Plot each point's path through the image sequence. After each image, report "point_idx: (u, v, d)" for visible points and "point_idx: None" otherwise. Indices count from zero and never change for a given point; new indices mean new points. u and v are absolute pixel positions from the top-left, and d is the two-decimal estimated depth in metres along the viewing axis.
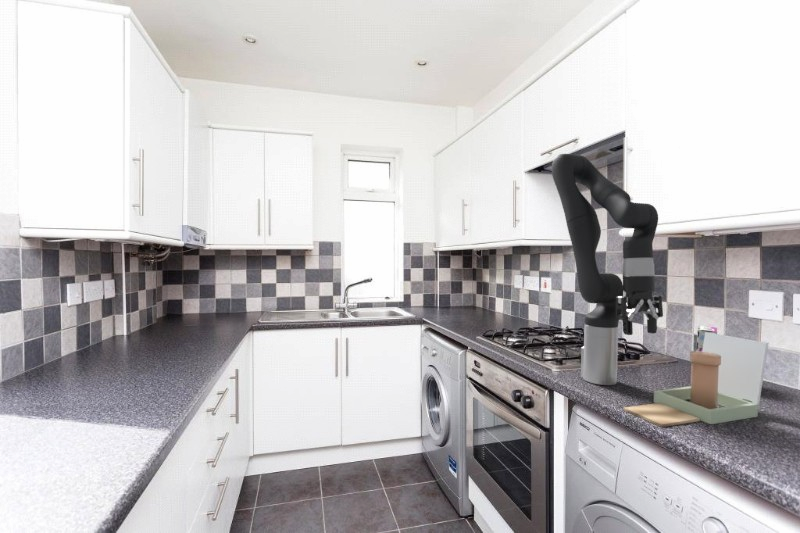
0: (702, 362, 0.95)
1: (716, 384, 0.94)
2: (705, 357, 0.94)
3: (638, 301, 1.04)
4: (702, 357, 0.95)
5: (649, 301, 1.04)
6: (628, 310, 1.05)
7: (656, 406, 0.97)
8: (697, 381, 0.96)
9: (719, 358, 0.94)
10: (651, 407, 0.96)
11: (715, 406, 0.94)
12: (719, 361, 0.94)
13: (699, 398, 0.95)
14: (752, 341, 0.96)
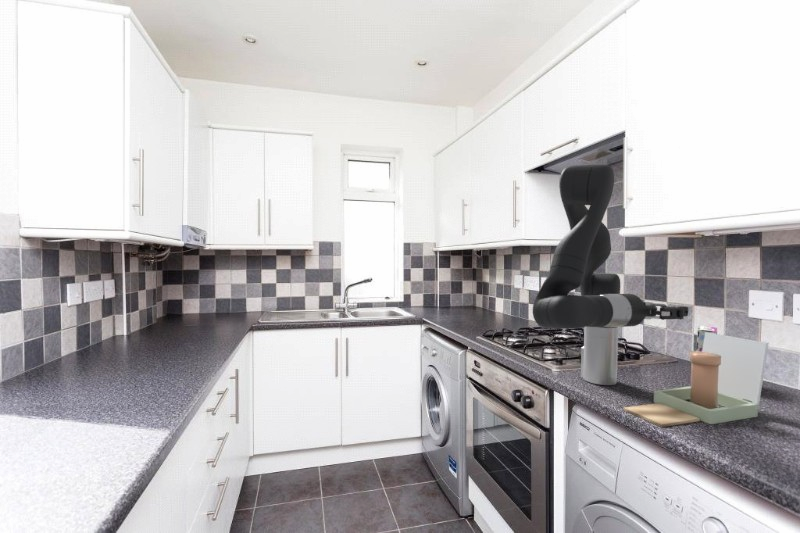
0: (702, 362, 0.95)
1: (716, 384, 0.94)
2: (705, 357, 0.94)
3: None
4: (702, 357, 0.95)
5: (645, 318, 0.88)
6: None
7: (656, 406, 0.97)
8: (697, 381, 0.96)
9: (719, 358, 0.94)
10: (651, 407, 0.96)
11: (715, 406, 0.94)
12: (719, 361, 0.94)
13: (699, 398, 0.95)
14: (752, 341, 0.96)
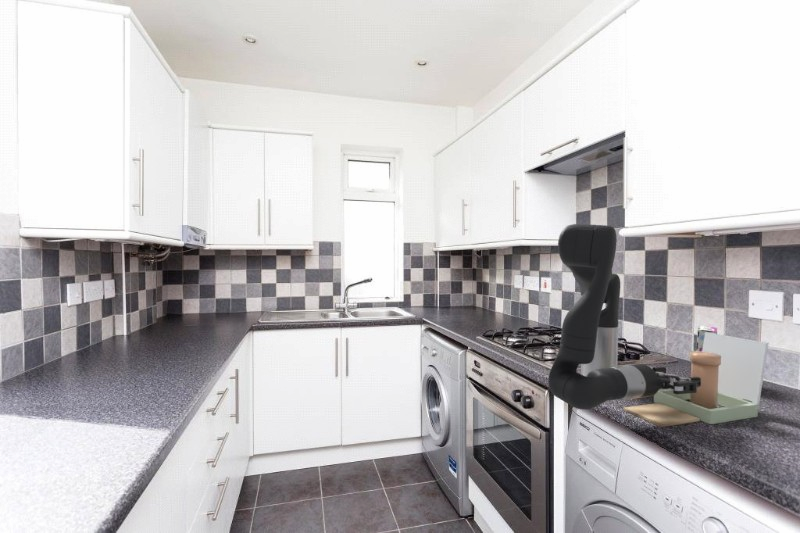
0: (702, 362, 0.95)
1: (716, 384, 0.94)
2: (705, 357, 0.94)
3: None
4: (702, 357, 0.95)
5: None
6: None
7: (656, 406, 0.97)
8: None
9: (719, 358, 0.94)
10: (651, 407, 0.96)
11: (715, 406, 0.94)
12: (719, 361, 0.94)
13: (699, 398, 0.95)
14: (752, 341, 0.96)
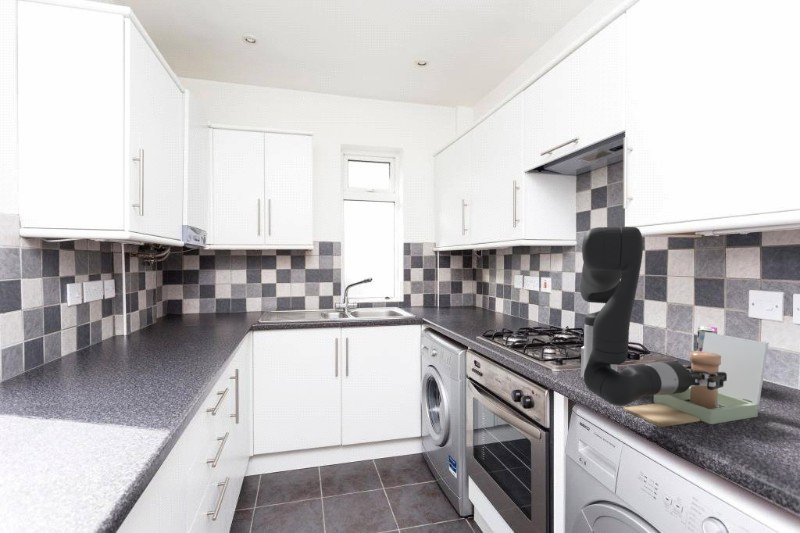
0: (702, 362, 0.95)
1: None
2: (705, 357, 0.94)
3: None
4: (702, 357, 0.95)
5: None
6: None
7: (656, 406, 0.97)
8: None
9: (719, 358, 0.94)
10: (651, 407, 0.96)
11: (714, 405, 0.94)
12: (719, 361, 0.94)
13: (699, 398, 0.96)
14: (752, 341, 0.96)
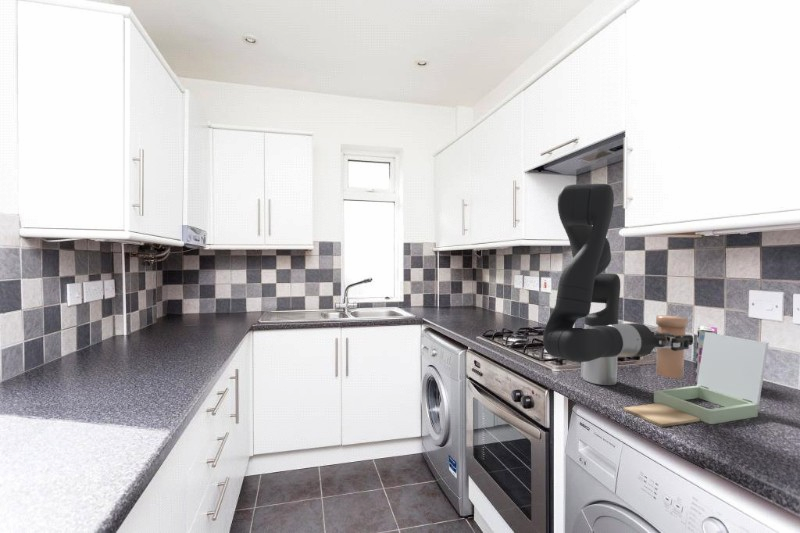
0: (668, 324, 0.91)
1: None
2: (671, 319, 0.90)
3: None
4: (668, 319, 0.91)
5: (654, 348, 0.89)
6: None
7: (656, 406, 0.97)
8: None
9: (685, 320, 0.90)
10: (651, 407, 0.96)
11: (680, 370, 0.90)
12: (685, 323, 0.90)
13: (665, 363, 0.91)
14: (752, 341, 0.96)
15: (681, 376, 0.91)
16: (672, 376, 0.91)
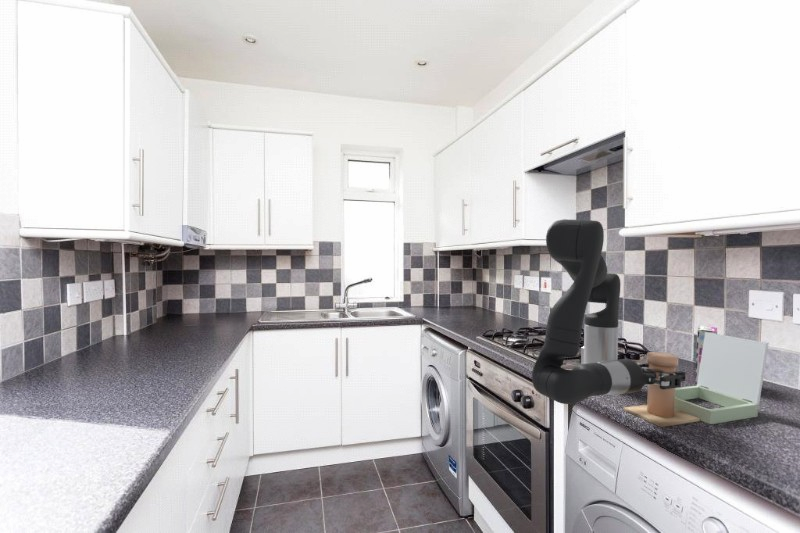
0: (658, 363, 0.90)
1: None
2: (661, 358, 0.90)
3: None
4: (658, 358, 0.90)
5: None
6: None
7: None
8: None
9: (676, 359, 0.90)
10: None
11: (671, 409, 0.90)
12: (676, 362, 0.90)
13: (655, 401, 0.91)
14: (752, 341, 0.96)
15: (671, 415, 0.90)
16: (662, 415, 0.90)
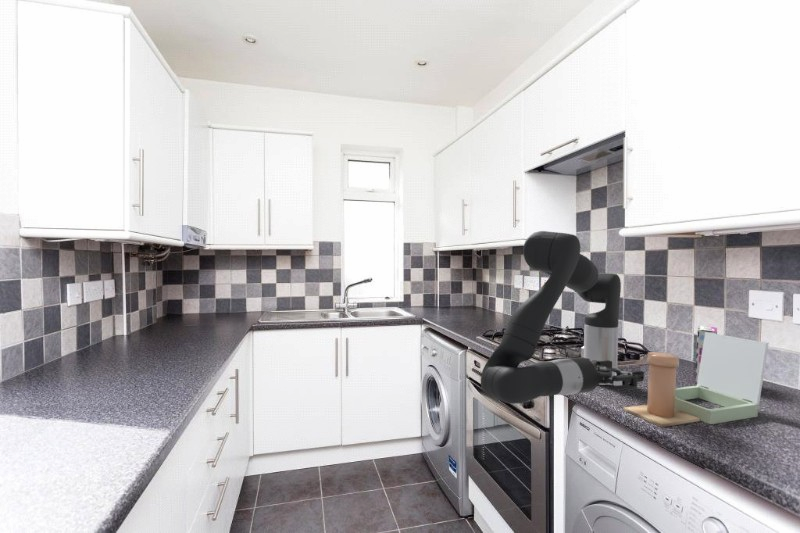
0: (659, 363, 0.90)
1: (673, 387, 0.90)
2: (662, 358, 0.90)
3: None
4: (659, 358, 0.90)
5: None
6: None
7: None
8: (654, 383, 0.91)
9: (676, 359, 0.89)
10: None
11: (671, 409, 0.90)
12: (676, 363, 0.90)
13: (655, 401, 0.91)
14: (752, 341, 0.96)
15: (671, 415, 0.90)
16: (662, 415, 0.90)
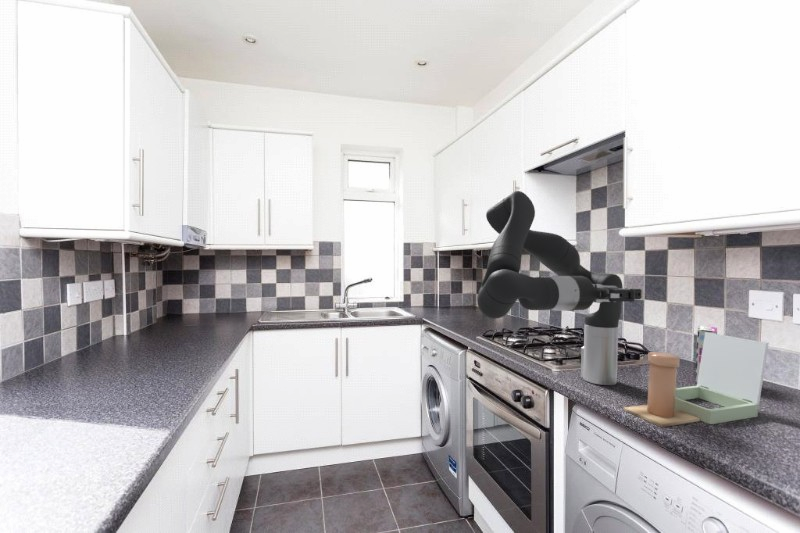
0: (659, 363, 0.90)
1: (673, 387, 0.90)
2: (662, 358, 0.90)
3: None
4: (659, 358, 0.90)
5: (597, 302, 0.84)
6: None
7: None
8: (654, 383, 0.91)
9: (677, 360, 0.89)
10: None
11: (671, 409, 0.90)
12: (677, 363, 0.89)
13: (655, 401, 0.91)
14: (752, 341, 0.96)
15: (671, 415, 0.90)
16: (662, 415, 0.90)
